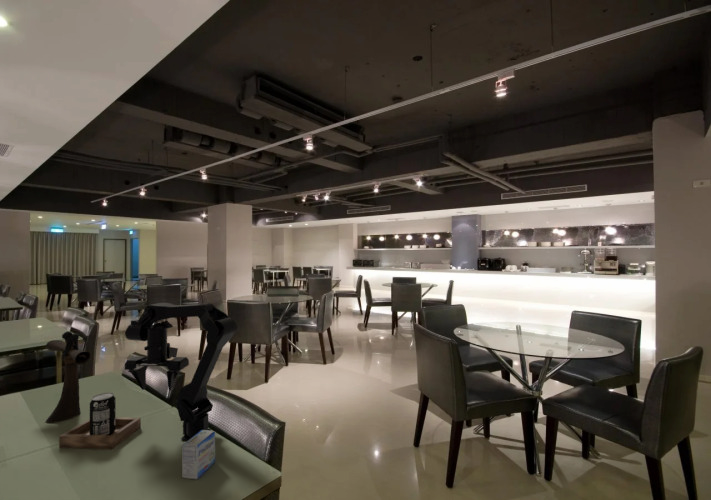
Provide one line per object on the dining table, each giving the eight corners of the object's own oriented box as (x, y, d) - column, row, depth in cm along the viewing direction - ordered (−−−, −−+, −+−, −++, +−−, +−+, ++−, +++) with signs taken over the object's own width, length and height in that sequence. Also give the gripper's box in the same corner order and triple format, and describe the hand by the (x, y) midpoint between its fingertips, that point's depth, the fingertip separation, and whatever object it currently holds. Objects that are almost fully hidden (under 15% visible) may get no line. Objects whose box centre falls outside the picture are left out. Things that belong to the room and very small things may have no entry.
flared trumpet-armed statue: (96, 424, 118) (96, 335, 119) (60, 436, 110) (61, 340, 111) (65, 401, 136) (66, 324, 137) (33, 410, 129) (33, 329, 129)
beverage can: (105, 427, 113) (105, 390, 114) (120, 431, 111) (120, 393, 111) (84, 438, 107) (84, 398, 107) (99, 441, 105) (99, 401, 105)
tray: (140, 428, 115) (140, 417, 115) (111, 449, 102) (111, 437, 102) (93, 427, 116) (93, 416, 116) (59, 447, 104) (59, 435, 104)
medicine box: (197, 480, 88) (197, 446, 88) (181, 478, 89) (181, 444, 89) (215, 462, 96) (215, 430, 96) (201, 460, 97) (201, 429, 97)
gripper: (197, 336, 122) (197, 381, 122) (146, 335, 123) (146, 380, 123) (179, 344, 111) (179, 393, 111) (123, 343, 112) (123, 392, 112)
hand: (157, 389), depth 114 cm, fingers open, 9 cm apart
